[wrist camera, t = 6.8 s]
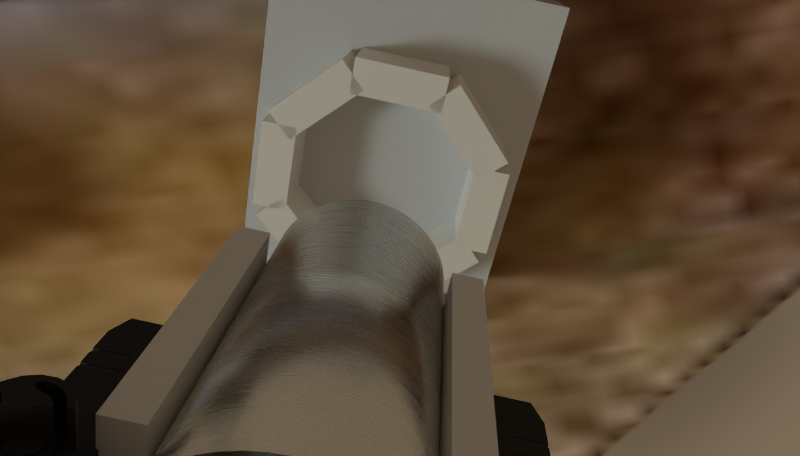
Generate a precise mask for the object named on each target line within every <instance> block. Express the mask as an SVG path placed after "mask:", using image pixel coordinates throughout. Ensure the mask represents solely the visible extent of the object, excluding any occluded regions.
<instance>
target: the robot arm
mask: <svg viewBox="0 0 800 456" xmlns="http://www.w3.org/2000/svg"><path fill="white" fill-rule="evenodd" d="M269 238H270V233H269V232H264V231H259V230H255V229H250V228H246V227H241V226H239V227H238V228H237V230H236V231H235V232H234V233H233V235H232V236H231V237H230V239H229V240H228V241H227V243H226V244H225V245H224V247H223V248H222V249H221V250H220V252H219V253H218V254H217V256H216V257H215V258H214V260H213V261H212V262H211V264H210V265H209V266H208V267H207V269H206V270H205V271H204V273H203V274H202V275H201V277H200V278H199V279H198V281H197V282H196V283H195V285H194V286H193V287H192V288H191V290H190V291H189V292H188V294H187V295H186V296H185V298H184V299H183V300H182V302H181V303H180V304H179V305H178V307H177V308H176V309H175V311H174V312H173V313H172V315H171V316H170V317H169V319H168V320H167V321H166V322H165V324H164V325H160V324H155V323H150V322H146V321H141V320H137V319H130V320H128V321H126V322H124V323H122V324H121V325H119V326H117V327H115V328H113V329H111V330H109V331H108V332H107V333H106V334H105V335H104V336H103V338H102V339H101V340H100V341H99V342H98V343H97V344H96V345H95V346H94V348H93V351H92V352H91V351H90V352H89V353H88V354H87V355H86V357H85V358H84V359H83V360H82V361H81V363H80V365H79V366H77V367H76V368H75V369H74V370H73V371H72V372H71V373H70V374H69V376H68V377H67V378H66V379H65V380H64V381H63V380H62V379H60V378H57V377H51V376H46V375H27V376H19V377H16V378H12V379H8V380H5V381H1V382H0V456H154V455H155V453H156V451H157V449H158V448H159V446H160V444H161V443H162V441H163V439H164V438H165V436H166V434H167V432H168V431H169V429H170V427H171V426H172V424H173V422H174V421H175V419H176V417H177V415H178V414H179V412H180V410H181V409H182V407H183V405H184V403H185V402H186V400H187V398H188V397H189V395H190V393H191V392H192V390H193V388H194V386H195V385H196V383H197V381H198V380H199V378H200V376H201V375H202V373H203V371H204V369H205V368H206V366H207V364H208V363H209V361H210V359H211V357H212V356H213V354H214V352H215V351H216V349H217V347H218V346H219V344H220V342H221V340H222V339H223V337H224V335H225V334H226V332H227V330H228V329H229V327H230V325H231V323H232V322H233V320H234V318H235V317H236V315H237V313H238V311H239V310H240V308H241V306H242V305H243V303H244V301H245V300H246V298H247V296H248V294H249V293H250V291H251V289H252V288H253V286H254V284H255V283H256V281H257V279H258V277H259V276H260V274H261V272H262V271H263V269H264V267H265V265H266V262H267V254H268V246H269ZM439 456H550V451H549V448H548V440H547V435H546V430H545V425H544V422H543V421H542V419H541V418H540V416H539V415H538V413H537V412H536V410H535V409H534V407H533V406H532V404H531V403H528V402H524V401H519V400H514V399H510V398H505V397H501V396H496V395H493V384H492V373H491V362H490V351H489V340H488V329H487V318H486V307H485V295H484V284H483V279H479V278H474V277H470V276H465V275H460V274H456V273H452V276H451V279H450V283H449V287H448V290H447V294H446V297H445V301H444V305H443V325H442V362H441V399H440V436H439Z"/></svg>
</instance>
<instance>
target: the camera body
mask: <svg viewBox="0 0 800 456" xmlns="http://www.w3.org/2000/svg"><path fill="white" fill-rule="evenodd" d="M569 10H570V8H569V7H567V6H565V5H563V4H561V3H560V2H558V1H556V0H269V4H268V13H267V23H266V32H265V41H264V51H263V60H262V70H261V79H260V88H259V98H258V107H257V117H256V126H255V135H254V145H253V154H252V164H251V173H250V182H249V192H248V201H247V211H246V220H245V227H246V228H250V229H255V230H259V231H264V232H269V233H270V238H269V246H268V254H267V262H268V260H269V259H270V257H271V255H272V254H273V252H274V250H275V248H276V247H277V245H278V243H279V242H280V240H281V238H282V236H283V235H284V233H285V232H286V231H287V229H288V228H289V227H290V225H291V224H292V223H293V222H295V221H296V220H297V219H298V218H299V217H300V216H302V215H303V214H304V213H306V212H307V211H309V210H311V209H313V208H315V207H317V206H320V205H323V204H325V203H329V202H333V201H338V200H349V199H354V200H366V201H373V202H377V203H380V204H384V205H387V206H389V207H391V208H394V209H396V210H398V211H400V212H401V213H403V214H405V215H406V216H408V217H409V218H410V219H412V220H413V221H414V222H416V223H417V224H418V225H419V226H420V227H421V228H422V229H423V230H424V231H425V233H426V234H427V235H428V236H429V238H430V239H431V241H432V242H433V244H434V246H435V247H436V249H437V252H438V254H439V256H440V259H441V263H442V267H443V275H444V288H443V305H444V301H445V297H446V294H447V290H448V287H449V283H450V279H451V276H452V273H456V274H460V275H465V276H470V277H474V278H479V279H483V284H484V289H485V285H486V282H487V279H488V275H489V272H490V269H491V266H492V262H493V259H494V256H495V253H496V249H497V246H498V243H499V239H500V236H501V233H502V230H503V226H504V223H505V220H506V216H507V213H508V210H509V207H510V203H511V200H512V197H513V194H514V190H515V187H516V184H517V180H518V177H519V174H520V171H521V167H522V164H523V161H524V158H525V154H526V151H527V148H528V144H529V141H530V138H531V135H532V131H533V128H534V125H535V122H536V118H537V115H538V112H539V108H540V105H541V102H542V99H543V95H544V92H545V89H546V85H547V82H548V79H549V76H550V72H551V69H552V66H553V63H554V59H555V56H556V53H557V49H558V46H559V43H560V40H561V36H562V33H563V30H564V27H565V23H566V20H567V17H568V13H569ZM267 262H266V264H267Z"/></svg>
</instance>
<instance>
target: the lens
mask: <svg viewBox="0 0 800 456" xmlns="http://www.w3.org/2000/svg"><path fill="white" fill-rule="evenodd" d="M443 288H444V275H443V267H442V263H441V259H440V256H439V254H438V252H437V249H436V247H435V246H434V244H433V242H432V241H431V239H430V238H429V236H428V235H427V234H426V233H425V231H424V230H423V229H422V228H421V227H420V226H419V225H418V224H417V223H416V222H414V221H413V220H412V219H410V218H409V217H408V216H406V215H405V214H403V213H401V212H400V211H398V210H396V209H394V208H391V207H389V206H387V205H384V204H380V203H377V202H373V201H366V200H354V199H349V200H338V201H333V202H329V203H325V204H323V205H320V206H317V207H315V208H313V209H311V210H309V211H307V212H306V213H304V214H303V215H302V216H300V217H299V218H298V219H297V220H296V221H295V222H293V223H292V224H291V225H290V227H289V228H288V229H287V231H286V232H285V233H284V235H283V236H282V238H281V240H280V242H279V243H278V245H277V247H276V248H275V250H274V252H273V254H272V255H271V257H270V259H269V260H268V262H267V264H266V265H265V267H264V269H263V271H262V272H261V274H260V276H259V277H258V279H257V281H256V283H255V284H254V286H253V288H252V289H251V291H250V293H249V294H248V296H247V298H246V300H245V301H244V303H243V305H242V306H241V308H240V310H239V311H238V313H237V315H236V317H235V318H234V320H233V322H232V323H231V325H230V327H229V329H228V330H227V332H226V334H225V335H224V337H223V339H222V340H221V342H220V344H219V346H218V347H217V349H216V351H215V352H214V354H213V356H212V357H211V359H210V361H209V363H208V364H207V366H206V368H205V369H204V371H203V373H202V375H201V376H200V378H199V380H198V381H197V383H196V385H195V386H194V388H193V390H192V392H191V393H190V395H189V397H188V398H187V400H186V402H185V403H184V405H183V407H182V409H181V410H180V412H179V414H178V415H177V417H176V419H175V421H174V422H173V424H172V426H171V427H170V429H169V431H168V432H167V434H166V436H165V438H164V439H163V441H162V443H161V444H160V446H159V448H158V449H157V451H156V453H155V455H154V456H439V436H440V399H441V362H442V325H443Z"/></svg>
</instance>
